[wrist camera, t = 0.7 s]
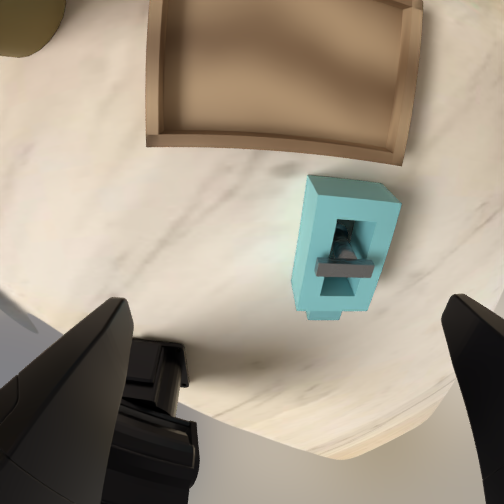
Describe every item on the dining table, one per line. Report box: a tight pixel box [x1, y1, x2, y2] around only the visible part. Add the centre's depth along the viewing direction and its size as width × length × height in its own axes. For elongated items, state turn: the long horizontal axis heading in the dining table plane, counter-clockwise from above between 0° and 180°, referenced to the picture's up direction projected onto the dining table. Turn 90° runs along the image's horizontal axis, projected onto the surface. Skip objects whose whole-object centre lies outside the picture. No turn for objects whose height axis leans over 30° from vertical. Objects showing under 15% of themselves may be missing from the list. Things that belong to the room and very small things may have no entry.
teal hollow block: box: [291, 175, 402, 320], centre depth 20 cm, size 10×5×3 cm, turn 176°
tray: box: [145, 0, 423, 166], centre depth 14 cm, size 10×14×2 cm
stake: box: [314, 223, 375, 278], centre depth 19 cm, size 2×3×4 cm, turn 87°
